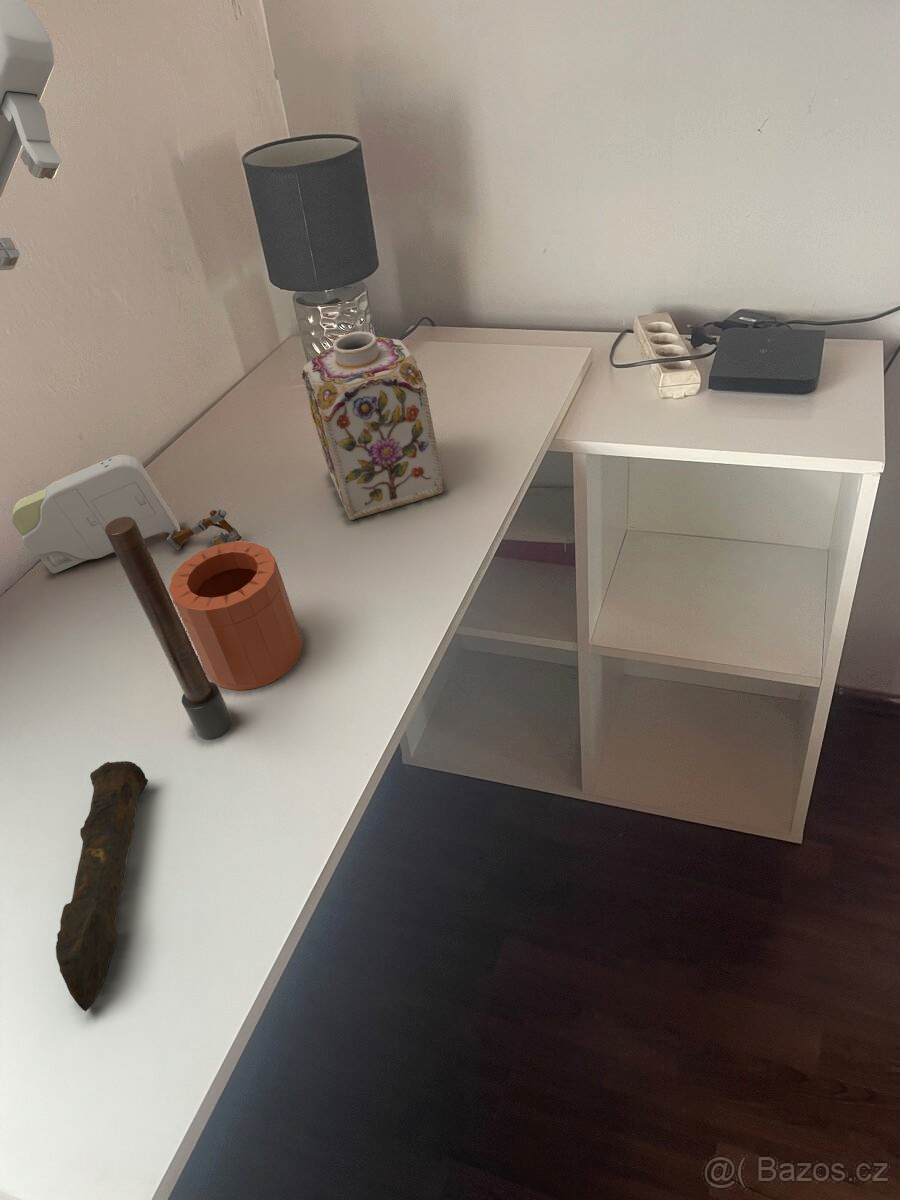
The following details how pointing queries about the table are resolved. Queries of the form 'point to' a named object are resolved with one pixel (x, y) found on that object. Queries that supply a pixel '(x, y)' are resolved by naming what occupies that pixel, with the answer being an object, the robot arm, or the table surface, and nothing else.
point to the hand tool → (98, 880)
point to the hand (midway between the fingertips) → (27, 219)
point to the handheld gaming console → (90, 512)
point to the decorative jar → (373, 423)
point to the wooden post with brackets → (203, 525)
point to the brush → (169, 630)
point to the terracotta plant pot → (237, 614)
